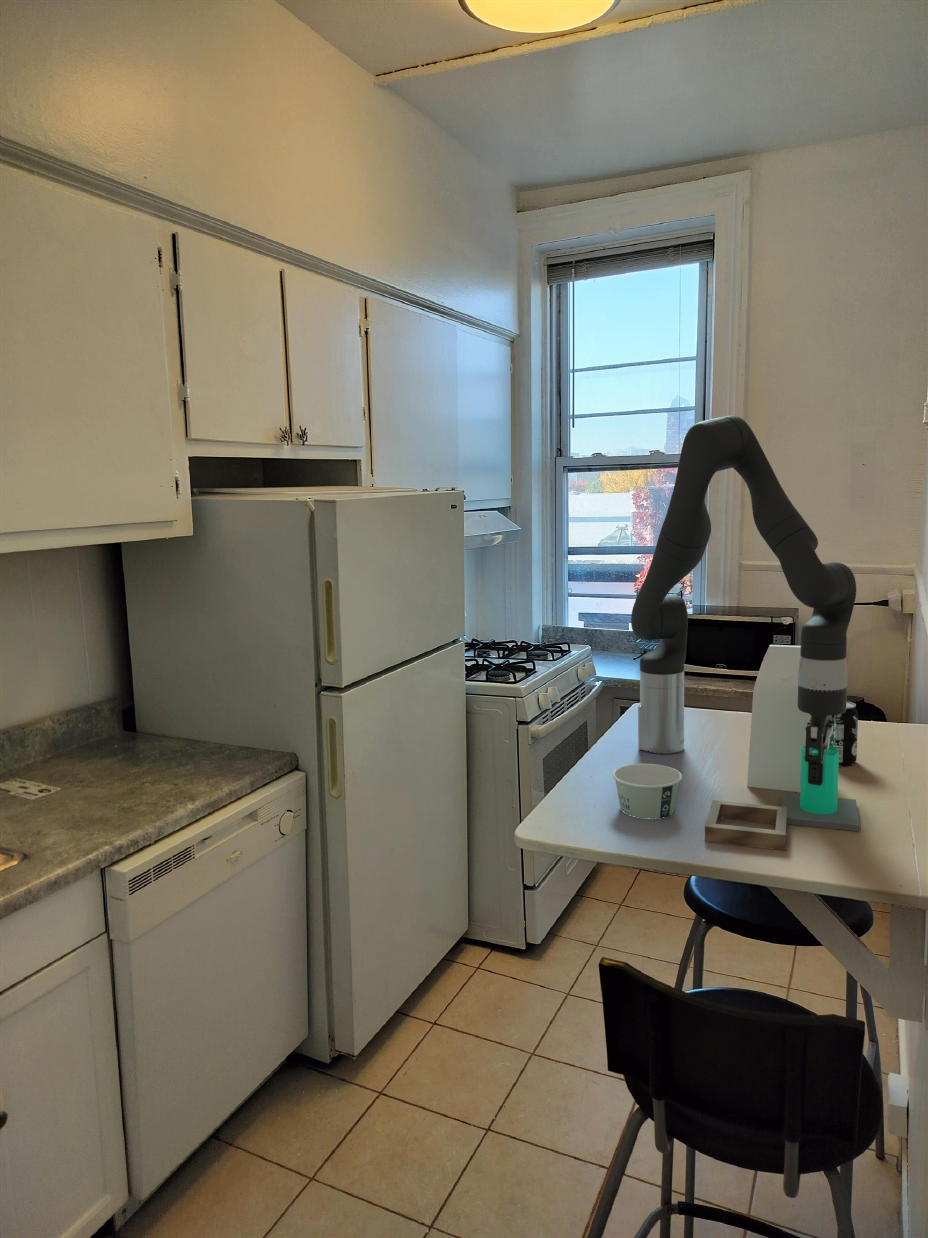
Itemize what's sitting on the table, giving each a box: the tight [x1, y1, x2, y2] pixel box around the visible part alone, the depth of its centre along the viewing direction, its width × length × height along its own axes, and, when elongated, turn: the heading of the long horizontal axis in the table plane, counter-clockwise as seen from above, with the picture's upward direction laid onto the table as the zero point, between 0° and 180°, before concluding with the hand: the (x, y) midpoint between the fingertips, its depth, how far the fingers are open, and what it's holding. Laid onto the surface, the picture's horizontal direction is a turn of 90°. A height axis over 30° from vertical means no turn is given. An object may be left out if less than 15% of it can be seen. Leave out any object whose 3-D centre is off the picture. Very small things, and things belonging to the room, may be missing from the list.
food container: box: [611, 763, 683, 820], centre depth 148 cm, size 12×12×6 cm
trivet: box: [780, 792, 861, 832], centre depth 144 cm, size 12×12×1 cm
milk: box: [746, 644, 811, 793], centre depth 159 cm, size 12×12×26 cm
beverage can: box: [833, 701, 859, 767], centre depth 169 cm, size 7×7×12 cm
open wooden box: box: [704, 799, 788, 852], centre depth 138 cm, size 12×12×2 cm
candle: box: [799, 745, 840, 815], centre depth 143 cm, size 6×6×12 cm
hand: (819, 776), depth 143 cm, fingers open, 8 cm apart
